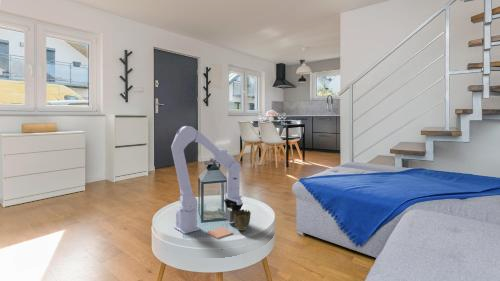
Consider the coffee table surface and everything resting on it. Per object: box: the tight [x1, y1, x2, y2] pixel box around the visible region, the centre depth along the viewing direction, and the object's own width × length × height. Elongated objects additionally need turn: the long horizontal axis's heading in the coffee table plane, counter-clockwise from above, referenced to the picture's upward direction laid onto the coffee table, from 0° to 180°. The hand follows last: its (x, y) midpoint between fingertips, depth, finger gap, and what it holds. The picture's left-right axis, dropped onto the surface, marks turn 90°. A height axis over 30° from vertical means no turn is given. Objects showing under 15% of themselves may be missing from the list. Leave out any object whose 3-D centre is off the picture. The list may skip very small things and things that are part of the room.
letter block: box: [225, 207, 242, 223], centre depth 127 cm, size 5×5×5 cm
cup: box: [233, 208, 252, 232], centre depth 119 cm, size 8×7×8 cm
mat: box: [205, 226, 234, 240], centre depth 116 cm, size 8×8×1 cm
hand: (233, 216), depth 128 cm, fingers closed on letter block, 5 cm apart
